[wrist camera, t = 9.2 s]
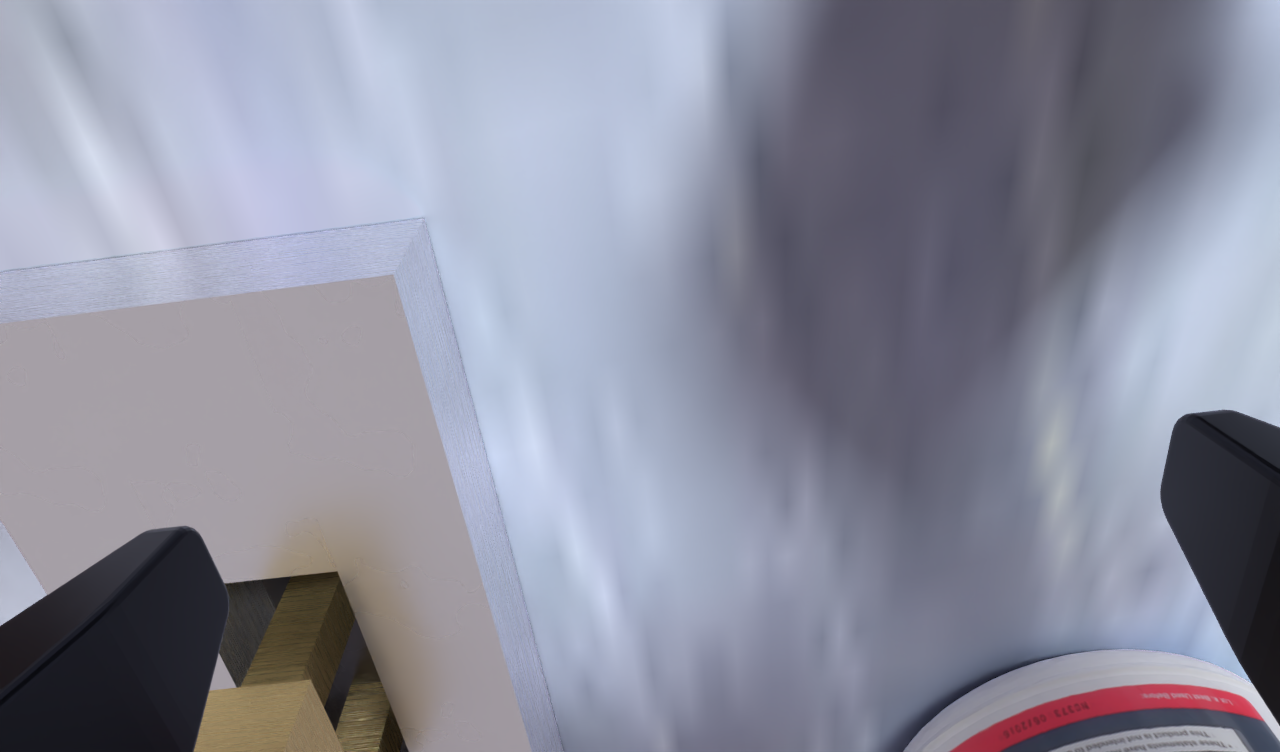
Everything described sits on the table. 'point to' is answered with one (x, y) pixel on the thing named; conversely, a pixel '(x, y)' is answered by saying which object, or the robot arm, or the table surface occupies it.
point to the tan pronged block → (300, 684)
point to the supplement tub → (1107, 708)
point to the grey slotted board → (280, 458)
